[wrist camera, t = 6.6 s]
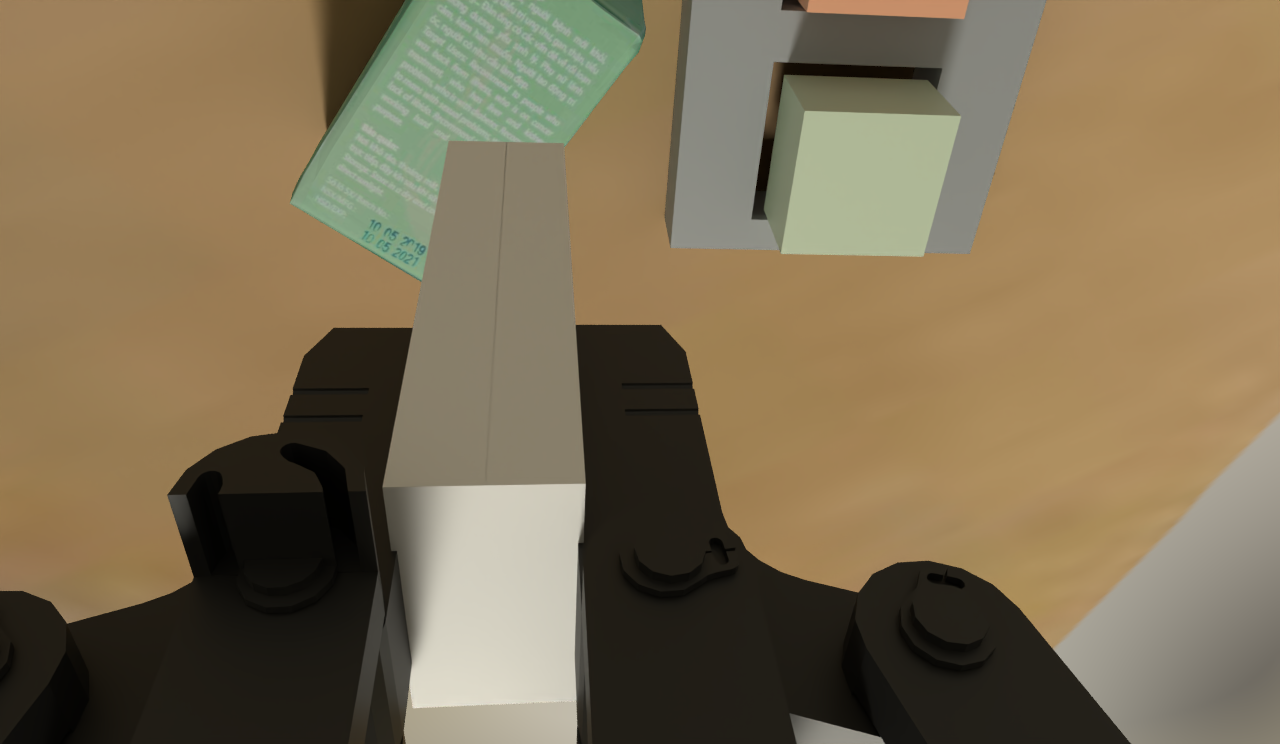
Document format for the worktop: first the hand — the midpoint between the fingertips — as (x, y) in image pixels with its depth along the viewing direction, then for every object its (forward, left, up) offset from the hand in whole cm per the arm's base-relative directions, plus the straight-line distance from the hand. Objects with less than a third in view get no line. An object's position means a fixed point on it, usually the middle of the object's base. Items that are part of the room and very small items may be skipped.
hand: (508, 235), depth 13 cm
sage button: (+13, -9, -25) cm, 30 cm away
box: (-3, -7, -29) cm, 30 cm away
